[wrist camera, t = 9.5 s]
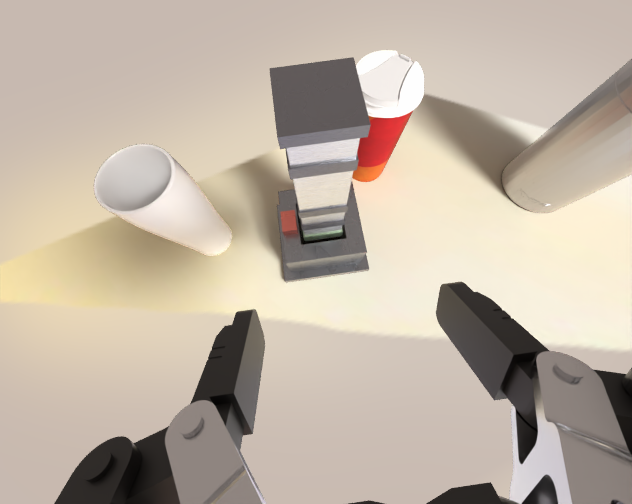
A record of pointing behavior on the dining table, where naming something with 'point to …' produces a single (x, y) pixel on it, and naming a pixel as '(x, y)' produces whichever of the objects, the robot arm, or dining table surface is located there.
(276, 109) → the column
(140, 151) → the drinking glass
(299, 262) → the sleeve
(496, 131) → the dining table surface
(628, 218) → the dining table surface
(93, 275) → the dining table surface
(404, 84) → the paper cup
